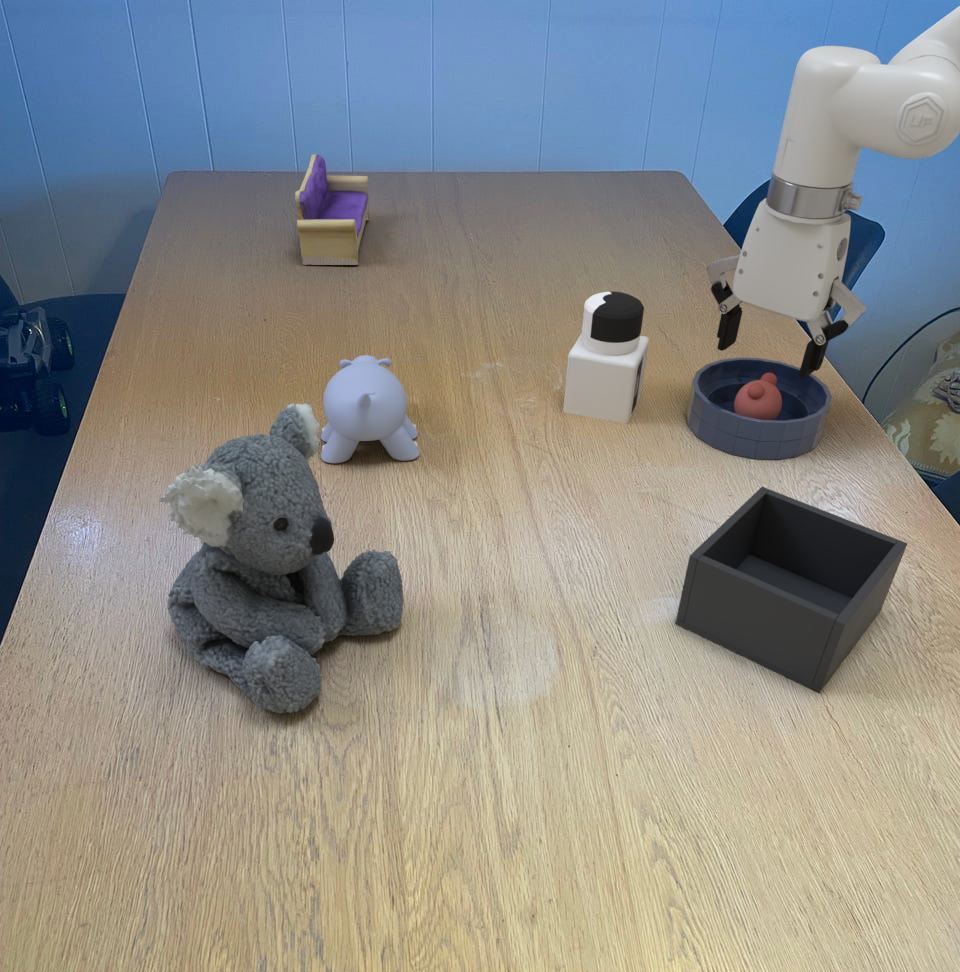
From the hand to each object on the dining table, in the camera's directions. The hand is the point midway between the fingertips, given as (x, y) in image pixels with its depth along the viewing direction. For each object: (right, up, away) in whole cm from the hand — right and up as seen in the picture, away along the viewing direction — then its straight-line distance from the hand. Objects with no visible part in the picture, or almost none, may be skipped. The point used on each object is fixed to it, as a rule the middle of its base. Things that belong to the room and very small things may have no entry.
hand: (765, 359), depth 105 cm
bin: (-4, -29, -19) cm, 35 cm away
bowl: (0, -6, +6) cm, 8 cm away
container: (-17, -3, +9) cm, 19 cm away
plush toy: (0, -6, +5) cm, 8 cm away
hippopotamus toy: (-44, -8, +2) cm, 44 cm away
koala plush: (-49, -30, -22) cm, 62 cm away
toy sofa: (-54, +31, +45) cm, 77 cm away
